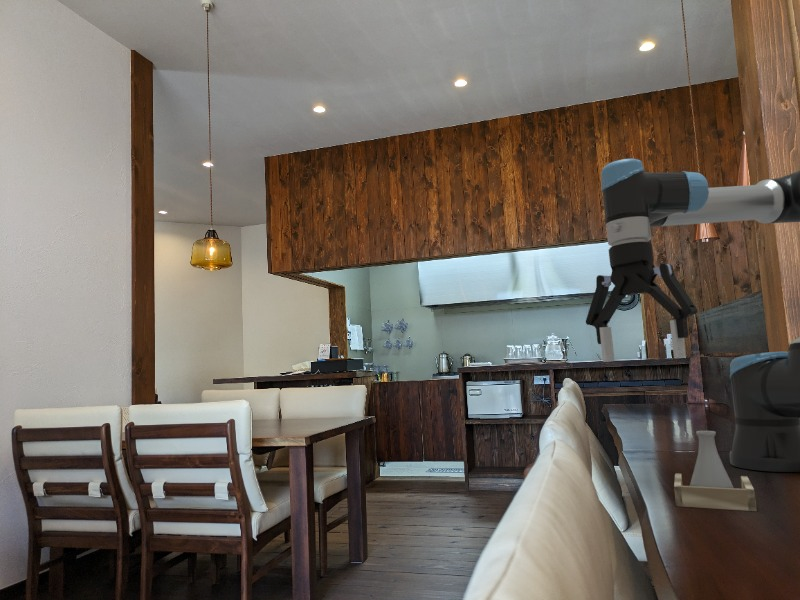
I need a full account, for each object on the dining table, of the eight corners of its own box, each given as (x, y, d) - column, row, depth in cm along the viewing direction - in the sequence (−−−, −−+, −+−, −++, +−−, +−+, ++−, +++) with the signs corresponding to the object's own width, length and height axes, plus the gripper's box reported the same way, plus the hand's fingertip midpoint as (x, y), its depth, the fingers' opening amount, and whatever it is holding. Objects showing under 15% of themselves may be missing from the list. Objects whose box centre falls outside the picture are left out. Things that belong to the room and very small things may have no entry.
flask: (741, 493, 98) (735, 433, 99) (695, 493, 99) (689, 434, 100) (726, 485, 105) (720, 429, 106) (683, 484, 106) (678, 429, 107)
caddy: (676, 490, 102) (675, 473, 102) (749, 494, 97) (747, 476, 97) (675, 506, 91) (674, 486, 92) (756, 511, 87) (754, 490, 87)
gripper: (560, 255, 114) (571, 363, 111) (688, 227, 94) (704, 357, 92) (583, 258, 118) (593, 361, 116) (708, 231, 99) (724, 355, 97)
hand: (642, 360), depth 104 cm, fingers open, 13 cm apart
